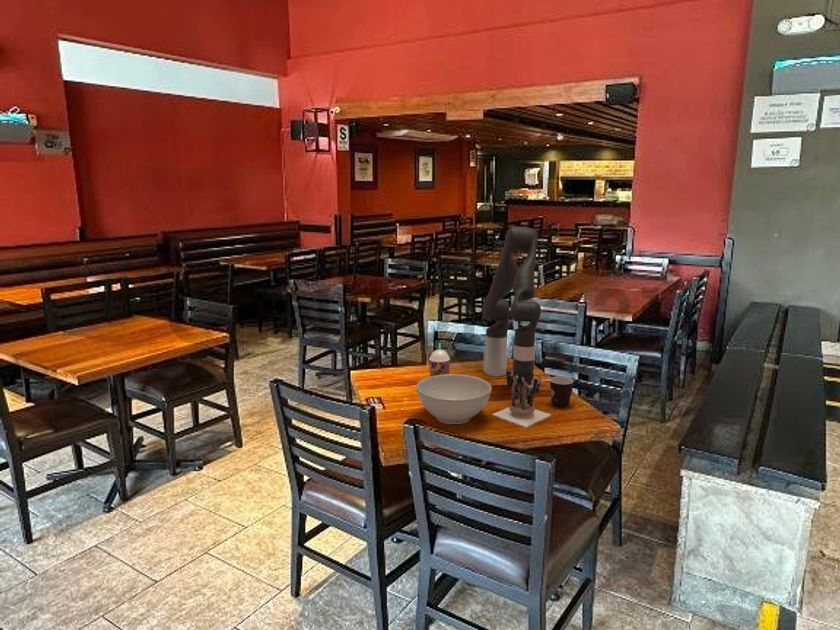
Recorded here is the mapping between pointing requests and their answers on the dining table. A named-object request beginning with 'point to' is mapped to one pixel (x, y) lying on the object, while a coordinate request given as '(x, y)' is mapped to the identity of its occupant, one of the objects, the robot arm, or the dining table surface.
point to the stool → (520, 402)
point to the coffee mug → (560, 391)
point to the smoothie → (439, 362)
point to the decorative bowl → (453, 396)
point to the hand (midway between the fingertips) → (522, 401)
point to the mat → (521, 417)
